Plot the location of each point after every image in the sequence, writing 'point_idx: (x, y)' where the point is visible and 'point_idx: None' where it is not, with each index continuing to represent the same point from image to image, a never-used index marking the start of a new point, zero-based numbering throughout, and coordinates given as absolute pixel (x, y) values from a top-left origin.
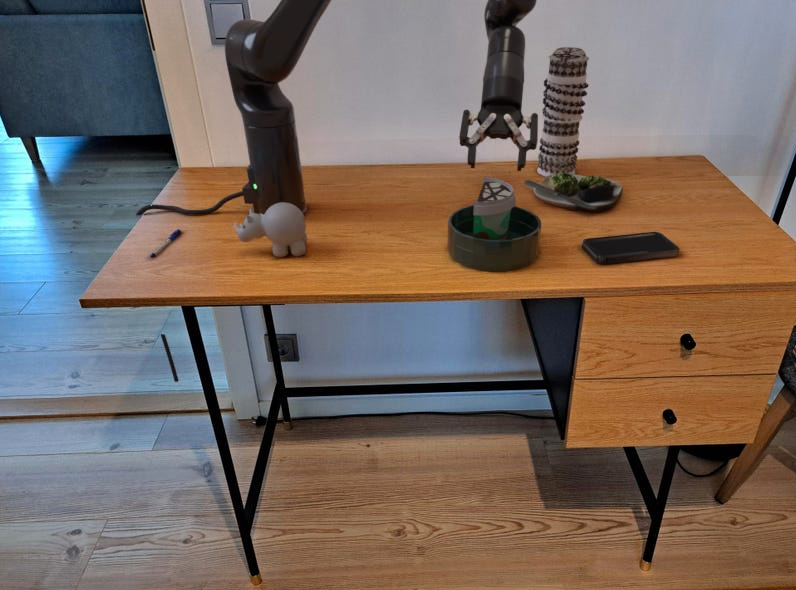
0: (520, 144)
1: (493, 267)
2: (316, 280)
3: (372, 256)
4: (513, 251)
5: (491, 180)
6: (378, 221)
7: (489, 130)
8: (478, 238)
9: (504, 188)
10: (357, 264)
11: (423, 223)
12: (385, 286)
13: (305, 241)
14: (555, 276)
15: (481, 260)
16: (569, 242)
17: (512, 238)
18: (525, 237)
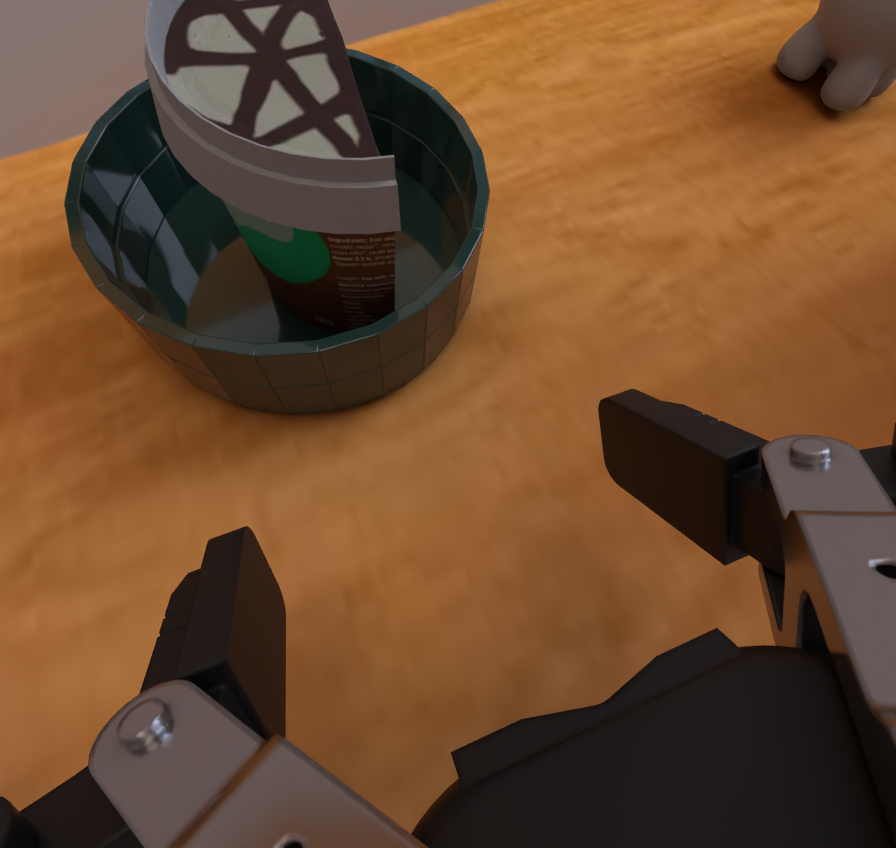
0: (205, 694)
1: None
2: (654, 6)
3: (628, 123)
4: None
5: (339, 168)
6: (794, 314)
7: (772, 653)
8: None
9: (233, 133)
10: (630, 81)
11: (651, 364)
12: (498, 27)
13: (825, 88)
14: (58, 196)
15: None
16: (19, 452)
17: (257, 342)
18: (119, 99)
